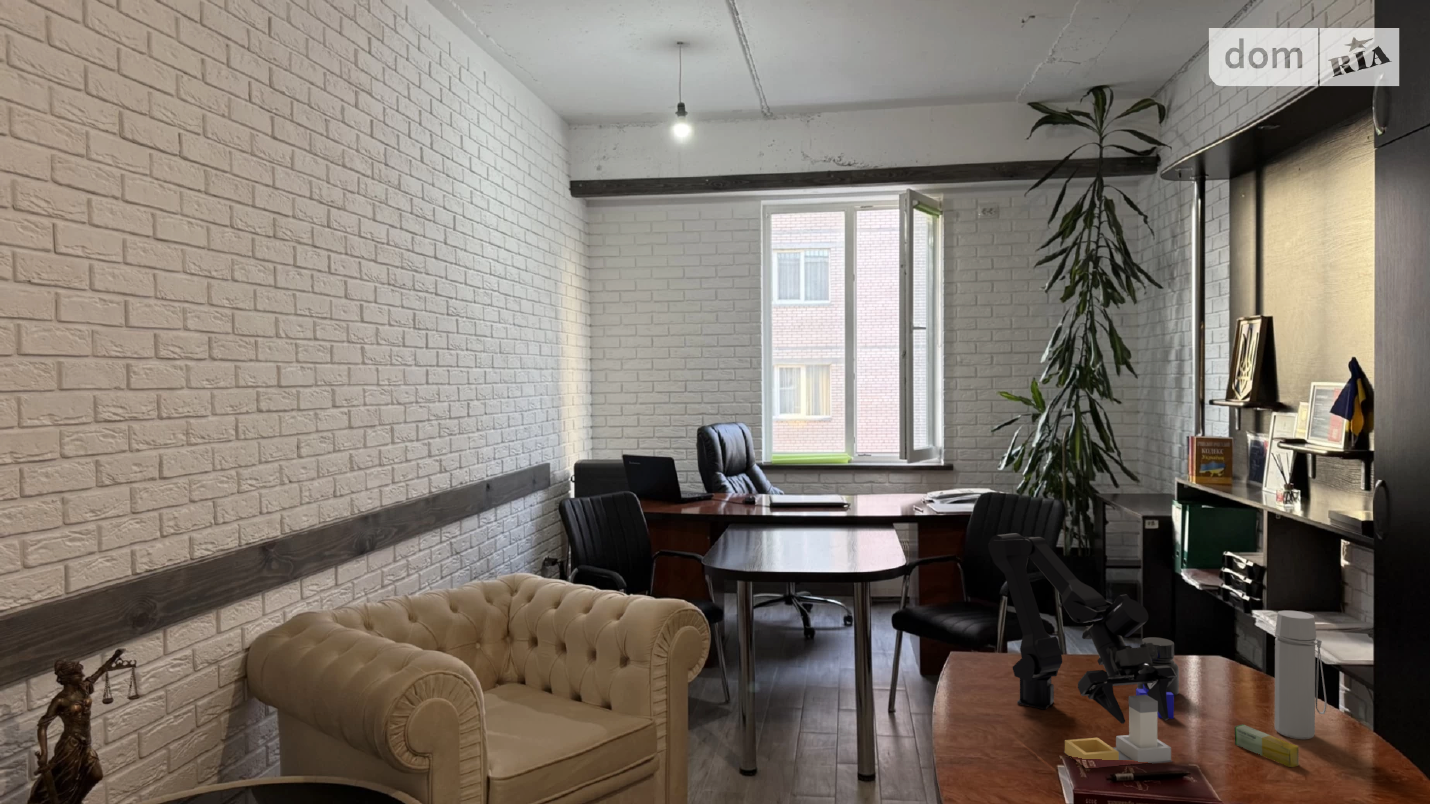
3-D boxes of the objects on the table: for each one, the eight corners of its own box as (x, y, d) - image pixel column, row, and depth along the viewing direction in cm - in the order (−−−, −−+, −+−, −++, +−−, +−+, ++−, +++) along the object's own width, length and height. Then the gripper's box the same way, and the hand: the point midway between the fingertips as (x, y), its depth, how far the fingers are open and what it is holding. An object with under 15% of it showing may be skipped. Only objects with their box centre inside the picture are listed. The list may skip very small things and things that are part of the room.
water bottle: (1278, 738, 185) (1278, 617, 185) (1270, 724, 193) (1270, 608, 192) (1331, 744, 182) (1331, 621, 181) (1321, 730, 189) (1321, 611, 189)
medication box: (1233, 745, 183) (1233, 725, 183) (1242, 742, 184) (1242, 723, 184) (1290, 769, 172) (1290, 748, 172) (1300, 766, 173) (1300, 745, 173)
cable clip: (1136, 701, 208) (1136, 675, 208) (1157, 702, 207) (1157, 676, 207) (1151, 721, 196) (1151, 693, 196) (1173, 722, 195) (1173, 694, 195)
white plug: (1140, 759, 175) (1140, 702, 175) (1128, 751, 179) (1128, 696, 178) (1157, 757, 176) (1157, 701, 175) (1145, 749, 179) (1145, 694, 179)
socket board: (1086, 772, 171) (1086, 755, 171) (1063, 754, 179) (1063, 739, 179) (1172, 764, 174) (1172, 748, 174) (1146, 747, 182) (1146, 732, 182)
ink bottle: (1182, 689, 215) (1182, 639, 214) (1179, 701, 207) (1179, 649, 207) (1138, 682, 220) (1138, 633, 220) (1132, 693, 212) (1132, 643, 212)
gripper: (1085, 631, 180) (1118, 705, 169) (1170, 625, 183) (1208, 698, 172) (1064, 658, 188) (1094, 731, 177) (1146, 653, 191) (1181, 724, 180)
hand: (1145, 721), depth 176 cm, fingers open, 9 cm apart
